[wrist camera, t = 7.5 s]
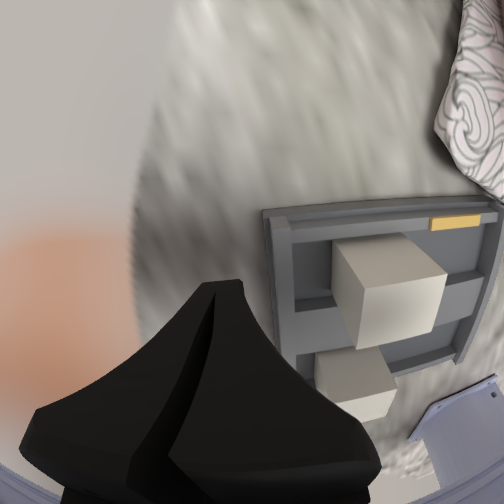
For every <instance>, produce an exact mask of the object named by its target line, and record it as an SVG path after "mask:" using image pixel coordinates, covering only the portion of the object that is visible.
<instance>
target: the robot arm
mask: <svg viewBox="0 0 504 504" xmlns="http://www.w3.org/2000/svg"><path fill="white" fill-rule="evenodd" d="M497 378H498V376H497V375H494V376H492V377H490V378H488V379H486V380H485V381H483V382H481V383H479V384H477V385H475V386H473V387H471V388H468V389H466V390H464V391H462V392H460V393H458V394H455V395H453V396H451V397H448V398H446V399H444V400H441V401H439V402H436V403H434V404H432V405H431V406H430V407H429V409H428V411H427V412H426V414H425V415H424V417H423V418H422V420H421V421H420V423H419V424H418V426H417V427H416V429H415V430H414V432H413V433H412V435H411V436H410V437H409V439H408V440H407V441H408V443H412V442H415V441H417V440H420V439H422V438H423V441H424V443H425V446H426V448H427V451H428V454H429V456H430V459H431V462H432V464H433V467H434V470H435V473H436V476H437V478H438V481H439V484H440V487H441V489H440V490H438V491H436V492H434V493H432V494H430V495H427V496H425V497H423V498H420V499H418V500H416V501H413V502H411V503H408V504H504V396H503V394H502V392H501V391H500V389H499V388H498V386H497V384H496V383H495V382H496V380H497ZM19 450H20V453H21V454H22V456H23V457H24V458H25V459H26V460H27V461H28V462H30V463H31V464H33V466H35V467H36V468H37V469H39V470H40V471H41V472H43V473H45V474H46V475H47V476H49V477H50V478H52V479H53V480H55V481H56V482H58V483H59V484H61V485H63V486H64V487H65V488H64V491H63V495H62V497H61V496H59V495H57V494H55V493H52V492H50V491H48V490H46V489H44V488H42V487H40V486H38V485H36V484H35V483H33V482H31V481H29V480H27V479H25V478H23V477H22V476H20V475H18V474H17V473H15V472H13V471H12V470H10V469H9V468H7V467H5V466H4V465H2V464H1V463H0V504H368V503H370V495H369V490H368V486H369V485H370V483H371V482H372V481H373V480H374V479H375V478H376V477H377V475H378V474H379V472H380V470H381V468H382V466H381V462H380V458H379V455H378V453H377V451H376V449H375V446H374V444H373V442H372V441H371V439H370V437H369V435H368V434H367V432H366V430H365V429H364V427H363V426H362V424H361V423H360V421H359V420H358V419H357V418H355V417H354V416H352V415H351V414H349V413H348V412H346V411H344V410H343V409H341V408H340V407H339V406H337V405H336V404H335V403H333V402H332V401H330V400H329V399H328V398H326V397H325V396H324V395H323V394H321V393H320V392H319V391H318V390H317V389H315V388H314V387H313V386H312V385H311V384H309V383H308V382H307V381H306V380H305V379H304V378H303V377H302V376H301V375H300V374H299V373H298V372H297V371H296V370H295V369H294V368H293V367H292V366H291V365H290V364H289V363H288V362H287V361H286V360H285V359H284V358H283V356H282V355H281V354H280V353H279V352H278V351H277V349H276V348H275V347H274V346H273V344H272V343H271V342H270V340H269V339H268V338H267V336H266V335H265V333H264V332H263V330H262V329H261V327H260V326H259V324H258V322H257V321H256V319H255V317H254V315H253V313H252V311H251V309H250V307H249V305H248V303H247V301H246V298H245V295H244V288H243V282H242V281H241V280H239V279H234V280H224V281H214V282H204V283H202V284H201V285H200V286H199V287H198V288H197V290H196V291H195V292H194V293H193V294H192V295H191V297H190V298H189V299H188V300H187V301H186V303H185V304H184V305H183V306H182V307H181V308H180V310H179V311H178V312H177V313H176V314H175V315H174V317H173V318H172V319H171V320H170V321H169V322H168V323H167V324H166V325H165V326H164V327H163V328H162V329H161V330H160V331H159V332H158V333H157V334H156V335H155V336H154V337H153V338H152V339H151V340H150V341H149V342H148V343H146V344H145V345H144V346H143V347H142V348H141V349H140V350H138V351H137V352H136V353H135V354H134V355H132V356H131V357H130V358H129V359H127V360H126V361H125V362H123V363H122V364H120V365H119V366H117V367H116V368H115V369H113V370H112V371H110V372H109V373H107V374H106V375H105V376H103V377H101V378H100V379H98V380H97V381H95V382H93V383H92V384H90V385H88V386H86V387H85V388H83V389H81V390H79V391H77V392H75V393H73V394H71V395H69V396H67V397H65V398H63V399H60V400H58V401H56V402H53V403H51V404H49V405H46V406H44V407H42V408H39V409H37V410H36V411H35V413H34V415H33V417H32V419H31V421H30V423H29V426H28V428H27V430H26V432H25V434H24V437H23V439H22V441H21V444H20V446H19Z"/></svg>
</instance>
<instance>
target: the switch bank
mask: <svg viewBox="0 0 504 504" xmlns="http://www.w3.org/2000/svg"><path fill="white" fill-rule="evenodd" d="M262 213H263V222H264V232H265V241H266V251H267V261H268V271H269V281H270V291H271V301H272V312H273V323H274V334H275V345H276V349H277V351H278V352H279V353H280V354H281V355H282V356H283V358H284V359H285V360H286V361H287V362H288V363H289V364H290V365H291V366H292V367H293V368H294V369H295V370H296V371H297V372H298V373H299V374H300V375H301V376H302V377H303V378H304V379H305V380H306V381H307V382H308V383H309V384H311V385H312V386H313V387H314V388H315V389H316V384H315V380H314V362H315V352H321V351H327V350H333V349H339V348H345V347H350V346H354V344H353V341H352V339H351V336H350V334H349V332H348V329H347V327H346V325H345V322H344V320H343V318H342V315H341V313H340V311H339V308H338V306H337V304H336V302H335V299H334V297H333V295H332V293H331V276H332V239H339V238H348V237H358V236H367V235H376V234H386V233H395V232H401V233H402V234H404V235H405V236H406V237H407V238H408V239H410V240H411V241H412V242H413V243H414V244H415V245H417V246H418V247H419V248H420V249H421V250H422V251H423V252H424V253H426V254H427V255H428V256H429V257H430V258H431V259H432V260H433V261H434V262H436V263H437V264H438V265H439V266H440V267H441V268H442V269H443V270H444V271H445V272H446V273H447V279H446V283H445V287H444V291H443V294H442V298H441V302H440V305H439V308H438V312H437V315H436V318H435V321H434V325H433V328H432V331H431V332H429V333H425V334H422V335H418V336H414V337H411V338H407V339H403V340H399V341H395V342H390V343H386V344H382V345H378V347H379V349H380V351H381V353H382V356H383V358H384V360H385V362H386V364H387V366H388V368H389V370H390V372H391V375H392V377H393V378H394V377H398V376H402V375H405V374H408V373H412V372H415V371H418V370H421V369H424V368H427V367H430V366H433V365H436V364H439V363H442V362H445V361H447V360H450V359H452V360H453V361H454V363H455V365H456V364H459V363H461V362H463V360H464V358H465V355H466V353H467V351H468V349H469V347H470V345H471V343H472V341H473V338H474V336H475V334H476V331H477V329H478V327H479V324H480V322H481V319H482V317H483V314H484V311H485V309H486V306H487V303H488V300H489V298H490V295H491V292H492V289H493V286H494V282H495V279H496V276H497V272H498V269H499V265H500V261H501V258H502V254H503V249H504V205H502V204H500V203H498V201H496V200H494V199H492V198H490V197H488V196H450V197H423V198H403V199H385V200H370V201H355V202H342V203H330V204H318V205H307V206H297V207H287V208H277V209H268V210H262Z"/></svg>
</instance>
